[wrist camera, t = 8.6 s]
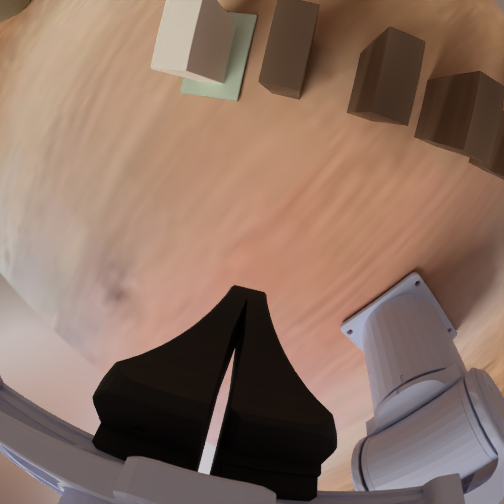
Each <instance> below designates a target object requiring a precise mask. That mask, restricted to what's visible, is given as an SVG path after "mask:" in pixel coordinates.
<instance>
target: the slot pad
mask: <svg viewBox="0 0 504 504" xmlns="http://www.w3.org/2000/svg"><path fill="white" fill-rule="evenodd" d="M227 14H228V15H229V16H230V17H231V19H232V20H233V21H234V23H235V24H236V29H235V33H234V38H233V42H232V47H231V51H230V56H229V60H228V65H227V70H226V75H225V79H224V84H219V83H211V82H202V81H196V80H192V79H189V78H185V77H183V81H182V86H181V91H180V93H183V94H192V95H200V96H207V97H214V98H221V99H227V100H233V101H238V97H239V93H240V88H241V84H242V79H243V75H244V70H245V66H246V62H247V57H248V53H249V49H250V45H251V40H252V36H253V32H254V28H255V24H256V20H257V15H252V14H244V13H234V12H227Z"/></svg>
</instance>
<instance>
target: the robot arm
mask: <svg viewBox="0 0 504 504" xmlns="http://www.w3.org/2000/svg"><path fill="white" fill-rule="evenodd" d="M417 281H419V283H417V284H415V283H416V282H417ZM448 329H449V330H448ZM348 330H352V331H348ZM341 331H342V332H343V333H344V334H345V335H346V336H347V337H348V338H349V339H350V340H351V341H352V342H353V343H354V344H355V345H356V346H358V347H359V348H360V349H361V350H362V351H363V352H364V355H365V360H366V366H367V371H368V377H369V383H370V390H371V396H372V403H373V410H374V416H373V418H371V419H370V420H369V421H367V422H366V429H367V436H366V437H364V438H362V439H361V440H360V441H359V442H358V443H357V444H356V446H355V448H354V450H353V453H352V459H351V478H352V482H353V485H354V488H355V490H356V491H317V480H318V477H319V476H320V474H321V464H322V463H323V462H324V461H325V460H326V459H327V458H328V457H329V456H330V455H332V454H333V453H334V451H335V450H336V448H337V433H336V428H335V423H334V418H333V415H332V414H331V413H330V412H329V411H328V410H327V409H326V408H325V407H324V406H323V405H322V404H321V403H320V402H319V401H318V400H317V399H316V398H315V397H314V395H313V394H312V393H311V392H310V391H309V390H308V388H307V387H306V386H305V384H304V383H303V382H302V380H301V379H300V377H299V376H298V375H297V373H296V372H295V370H294V368H293V367H292V365H291V363H290V362H289V360H288V358H287V356H286V354H285V353H284V350H283V348H282V346H281V344H280V342H279V339H278V337H277V334H276V332H275V329H274V326H273V323H272V320H271V317H270V313H269V309H268V304H267V297H266V294H265V292H261V291H257V290H253V289H249V288H245V287H241V286H237V285H234V286H232V287H231V289H230V290H229V291H228V293H227V294H226V295H225V297H224V298H223V299H222V300H221V301H220V302H219V303H218V304H217V305H216V306H215V307H214V308H213V309H212V310H211V311H210V312H209V313H208V314H207V315H206V316H205V317H203V318H202V319H201V320H200V321H199V322H198V323H196V324H195V325H194V326H192V327H191V328H190V329H188V330H187V331H185V332H184V333H182V334H181V335H179V336H177V337H176V338H174V339H172V340H171V341H169V342H167V343H165V344H163V345H161V346H159V347H157V348H155V349H152V350H150V351H148V352H146V353H143V354H141V355H138V356H135V357H132V358H129V359H125V360H122V361H118V362H116V363H115V364H114V365H113V367H112V368H111V369H110V370H109V371H108V373H107V374H106V375H105V376H104V378H103V379H102V381H101V382H100V384H99V386H98V388H97V389H96V391H95V393H94V395H93V403H94V406H95V408H96V411H97V413H98V416H99V419H100V421H101V424H100V426H99V428H98V430H97V432H96V434H95V436H94V435H92V434H89V433H87V432H85V431H83V430H81V429H79V428H77V427H75V426H73V425H71V424H70V423H67V422H66V421H64V420H62V419H60V418H58V417H57V416H55V415H53V414H51V413H49V412H48V411H46V410H44V409H43V408H41V407H39V406H38V405H36V404H35V403H33V402H31V401H30V400H28V399H27V398H25V397H24V396H22V395H20V394H19V393H17V392H16V391H14V390H13V389H12V388H10V387H9V386H7V385H6V384H5V383H3V380H2V378H1V376H0V452H1V453H2V454H3V455H5V456H6V457H7V458H8V459H10V460H11V461H12V462H14V463H15V464H16V465H17V466H19V467H20V468H21V469H23V470H24V471H26V472H27V473H28V474H30V475H31V476H33V477H34V478H36V479H37V480H39V481H40V482H42V483H43V484H45V485H46V486H48V487H49V488H51V489H53V490H54V491H56V492H58V493H59V494H61V495H62V496H61V498H60V501H59V503H58V504H500V503H501V501H502V500H503V498H504V398H503V396H502V394H501V392H500V391H499V389H498V387H497V386H496V384H495V382H494V381H493V379H492V378H491V377H490V375H489V374H488V373H487V372H486V371H485V370H481V369H476V368H471V369H470V370H469V371H468V372H467V370H466V368H465V365H464V363H463V361H462V359H461V357H460V355H459V353H458V350H457V348H456V346H455V344H454V342H453V339H454V338H455V337H456V336H457V332H456V331H455V329H454V327H453V326H452V324H451V322H450V321H449V319H448V317H447V316H446V314H445V313H444V311H443V309H442V308H441V306H440V305H439V303H438V302H437V300H436V299H435V297H434V296H433V294H432V293H431V291H430V290H429V288H428V287H427V285H426V284H425V282H424V281H423V279H422V278H421V276H420V275H419V274H418V273H417V272H413V273H411V274H410V275H408V276H407V277H406V278H404V279H403V280H402V281H400V282H399V283H398V284H397V285H395V286H394V287H393V288H391V289H390V290H389V291H387V292H386V293H385V294H383V295H382V296H380V297H379V298H378V299H376V300H375V301H374V302H372V303H371V304H369V305H368V306H367V307H365V308H364V309H362V310H361V311H359V312H358V313H357V314H355V315H354V316H352V317H351V318H349V319H348V320H346V321H345V322H343V323H342V324H341ZM234 349H235V354H234V361H233V369H232V376H231V384H230V391H229V397H228V402H227V406H226V410H225V414H224V418H223V422H222V426H221V430H220V434H219V438H218V443H217V447H216V451H215V455H214V459H213V463H212V467H211V471H210V474H209V475H207V474H203V473H199V472H198V468H199V465H200V461H201V457H202V453H203V449H204V445H205V442H206V438H207V434H208V430H209V426H210V422H211V418H212V415H213V411H214V407H215V403H216V399H217V396H218V393H219V390H220V387H221V384H222V381H223V379H224V376H225V373H226V371H227V368H228V365H229V363H230V360H231V357H232V355H233V352H234Z"/></svg>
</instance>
